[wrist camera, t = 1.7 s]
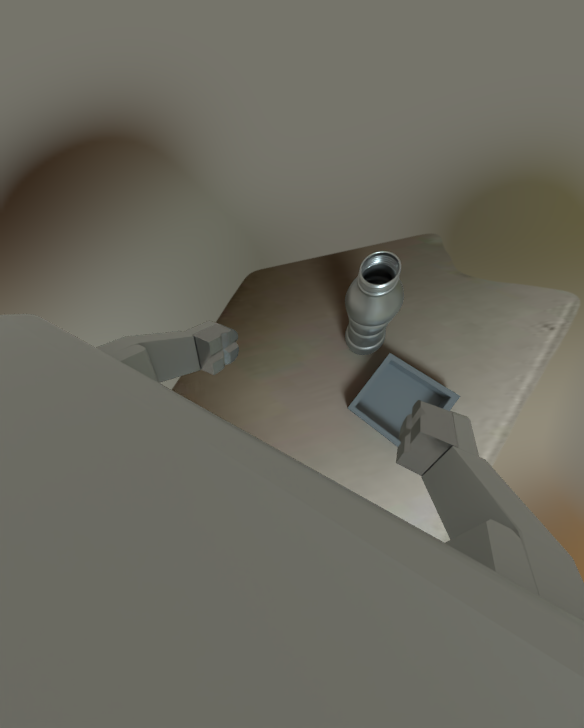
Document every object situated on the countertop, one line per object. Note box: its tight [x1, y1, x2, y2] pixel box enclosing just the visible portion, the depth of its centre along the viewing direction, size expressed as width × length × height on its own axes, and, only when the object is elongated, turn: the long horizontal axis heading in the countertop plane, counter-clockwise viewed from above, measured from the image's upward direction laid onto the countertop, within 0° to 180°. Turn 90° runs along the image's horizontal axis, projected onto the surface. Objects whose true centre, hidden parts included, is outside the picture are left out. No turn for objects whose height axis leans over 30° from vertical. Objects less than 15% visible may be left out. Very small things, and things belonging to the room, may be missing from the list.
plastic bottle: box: [345, 251, 404, 355], centre depth 29 cm, size 6×7×20 cm
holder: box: [348, 353, 460, 447], centre depth 33 cm, size 11×11×3 cm
